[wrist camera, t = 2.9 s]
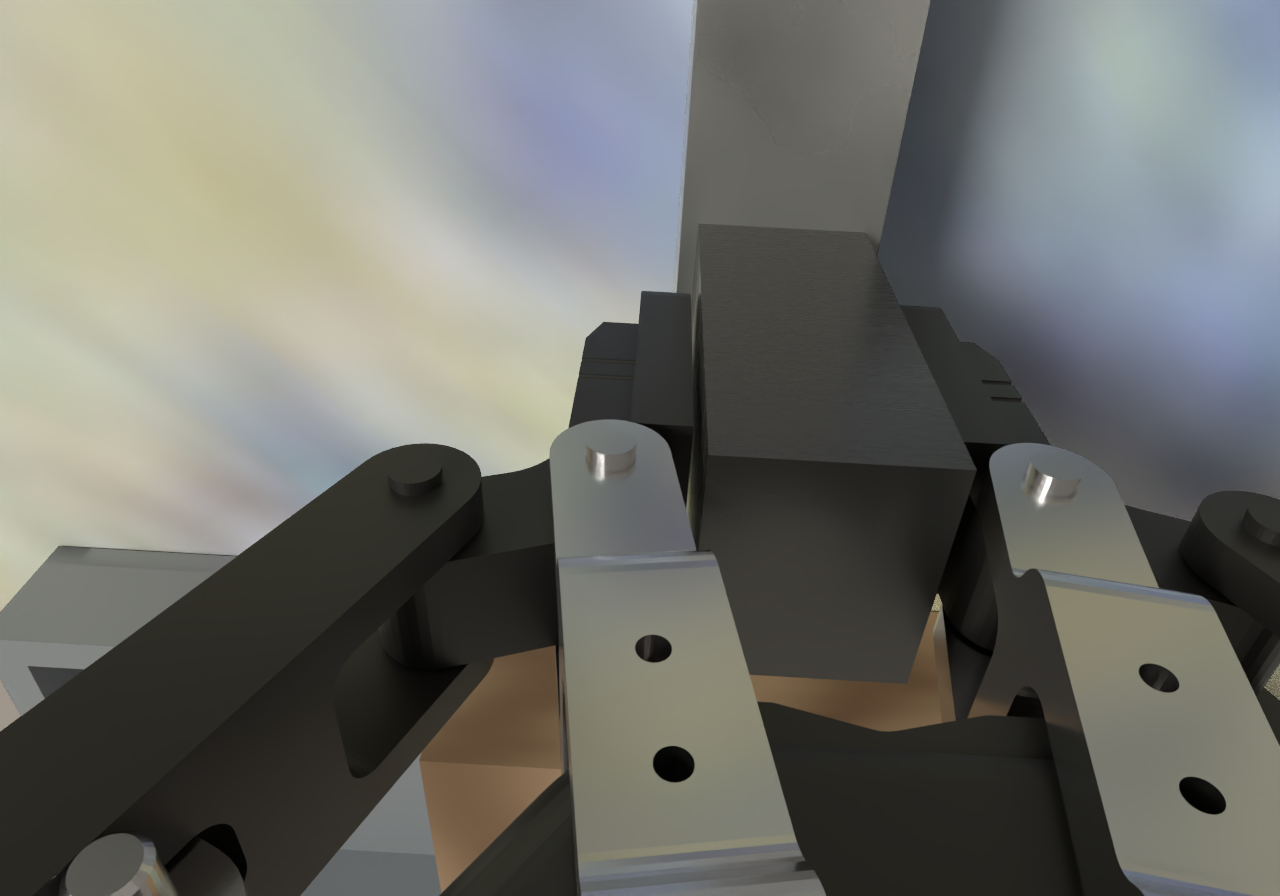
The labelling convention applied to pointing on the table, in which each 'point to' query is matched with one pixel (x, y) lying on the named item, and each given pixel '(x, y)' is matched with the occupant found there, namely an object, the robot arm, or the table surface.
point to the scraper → (810, 339)
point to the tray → (120, 605)
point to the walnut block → (530, 746)
